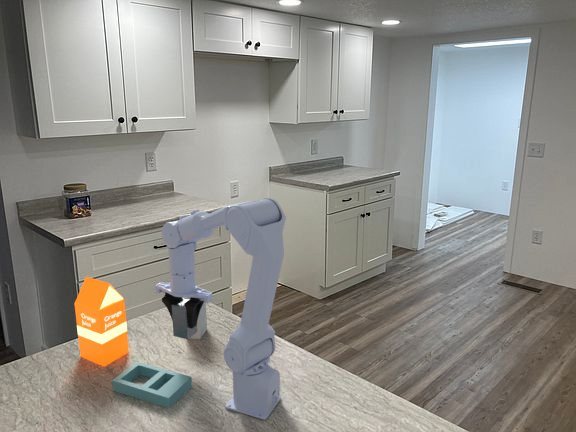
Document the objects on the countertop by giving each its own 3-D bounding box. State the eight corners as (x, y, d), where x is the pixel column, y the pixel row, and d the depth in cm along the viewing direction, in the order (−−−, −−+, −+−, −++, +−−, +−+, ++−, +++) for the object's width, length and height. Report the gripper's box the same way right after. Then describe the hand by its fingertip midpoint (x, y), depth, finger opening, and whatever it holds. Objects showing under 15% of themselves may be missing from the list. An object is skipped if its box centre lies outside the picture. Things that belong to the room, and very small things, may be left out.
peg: (197, 331, 113) (196, 301, 111) (187, 339, 109) (186, 308, 107) (183, 328, 114) (181, 298, 112) (173, 335, 111) (171, 304, 109)
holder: (191, 386, 105) (191, 376, 104) (169, 408, 98) (168, 398, 97) (138, 370, 111) (137, 361, 110) (113, 390, 103) (112, 380, 103)
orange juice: (104, 367, 112) (96, 289, 107) (79, 356, 116) (71, 281, 111) (129, 351, 119) (123, 278, 114) (105, 342, 123) (98, 271, 118)
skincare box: (192, 327, 131) (190, 288, 128) (207, 329, 130) (206, 289, 127) (185, 338, 125) (183, 297, 122) (200, 340, 125) (198, 298, 122)
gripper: (218, 269, 109) (220, 323, 112) (167, 260, 114) (170, 311, 118) (201, 280, 102) (204, 336, 106) (148, 270, 108) (151, 324, 111)
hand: (185, 324), depth 111 cm, fingers closed on peg, 4 cm apart
